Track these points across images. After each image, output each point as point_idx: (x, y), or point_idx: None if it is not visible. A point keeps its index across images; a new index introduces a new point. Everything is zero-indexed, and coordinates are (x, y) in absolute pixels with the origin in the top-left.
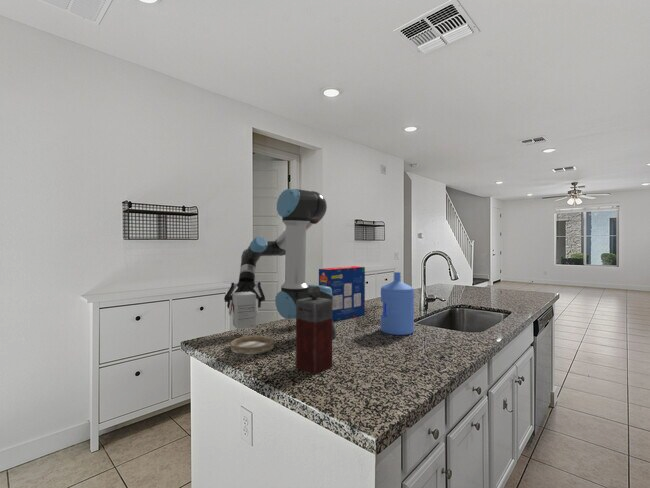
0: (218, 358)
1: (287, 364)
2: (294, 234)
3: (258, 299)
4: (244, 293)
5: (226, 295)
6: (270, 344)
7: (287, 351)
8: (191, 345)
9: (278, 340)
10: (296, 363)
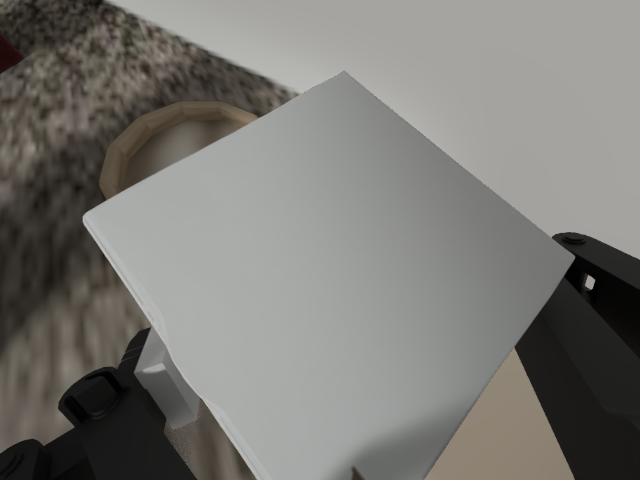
0: (270, 85)
1: (51, 72)
2: None
3: (137, 398)
4: (314, 200)
5: (617, 258)
6: (110, 144)
7: (54, 160)
8: None
9: (106, 281)
10: (11, 43)
